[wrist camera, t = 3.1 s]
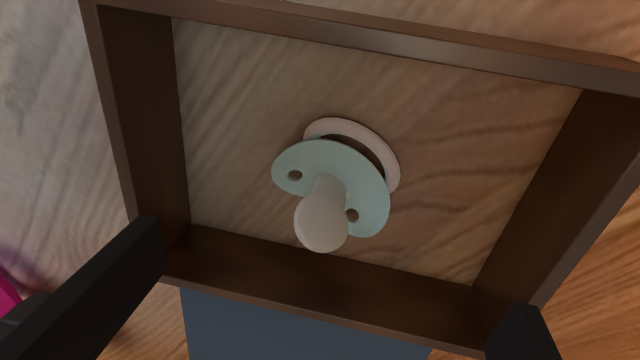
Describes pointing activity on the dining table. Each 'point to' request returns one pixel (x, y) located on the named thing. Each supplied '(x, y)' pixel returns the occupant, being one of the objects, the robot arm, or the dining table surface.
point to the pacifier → (337, 184)
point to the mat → (278, 335)
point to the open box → (339, 273)
